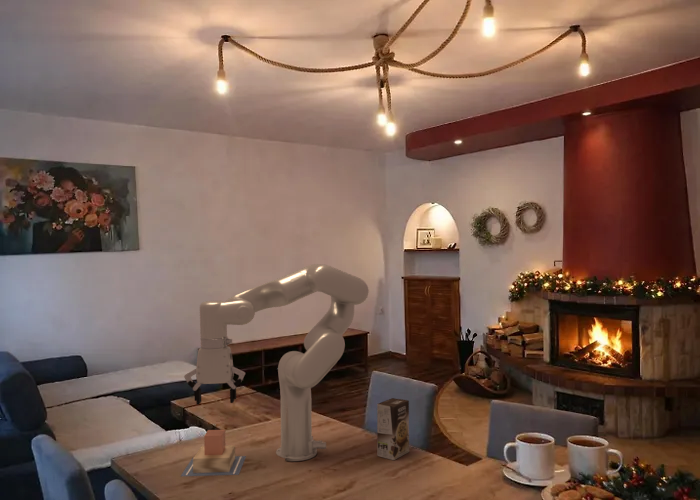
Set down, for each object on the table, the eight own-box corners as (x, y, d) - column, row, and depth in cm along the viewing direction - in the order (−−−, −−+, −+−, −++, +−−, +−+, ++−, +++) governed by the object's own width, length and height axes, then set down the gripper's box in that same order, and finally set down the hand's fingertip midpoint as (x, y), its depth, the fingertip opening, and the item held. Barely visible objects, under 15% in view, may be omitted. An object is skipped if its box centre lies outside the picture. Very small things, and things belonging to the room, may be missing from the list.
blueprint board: (246, 459, 165) (246, 455, 165) (238, 478, 151) (238, 474, 151) (192, 460, 164) (192, 457, 164) (180, 479, 150) (180, 475, 150)
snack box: (394, 461, 162) (393, 406, 162) (376, 456, 166) (376, 403, 166) (410, 452, 170) (409, 400, 170) (392, 447, 173) (392, 396, 174)
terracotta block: (225, 448, 160) (225, 429, 160) (222, 454, 155) (222, 435, 155) (208, 448, 160) (208, 430, 160) (204, 455, 155) (204, 435, 155)
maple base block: (235, 458, 163) (235, 445, 163) (229, 472, 153) (229, 457, 153) (201, 459, 162) (201, 446, 162) (193, 473, 152) (193, 458, 152)
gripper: (245, 340, 162) (247, 397, 162) (187, 342, 161) (188, 400, 161) (242, 344, 155) (243, 405, 155) (180, 347, 154) (182, 407, 154)
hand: (215, 402), depth 158 cm, fingers open, 9 cm apart
